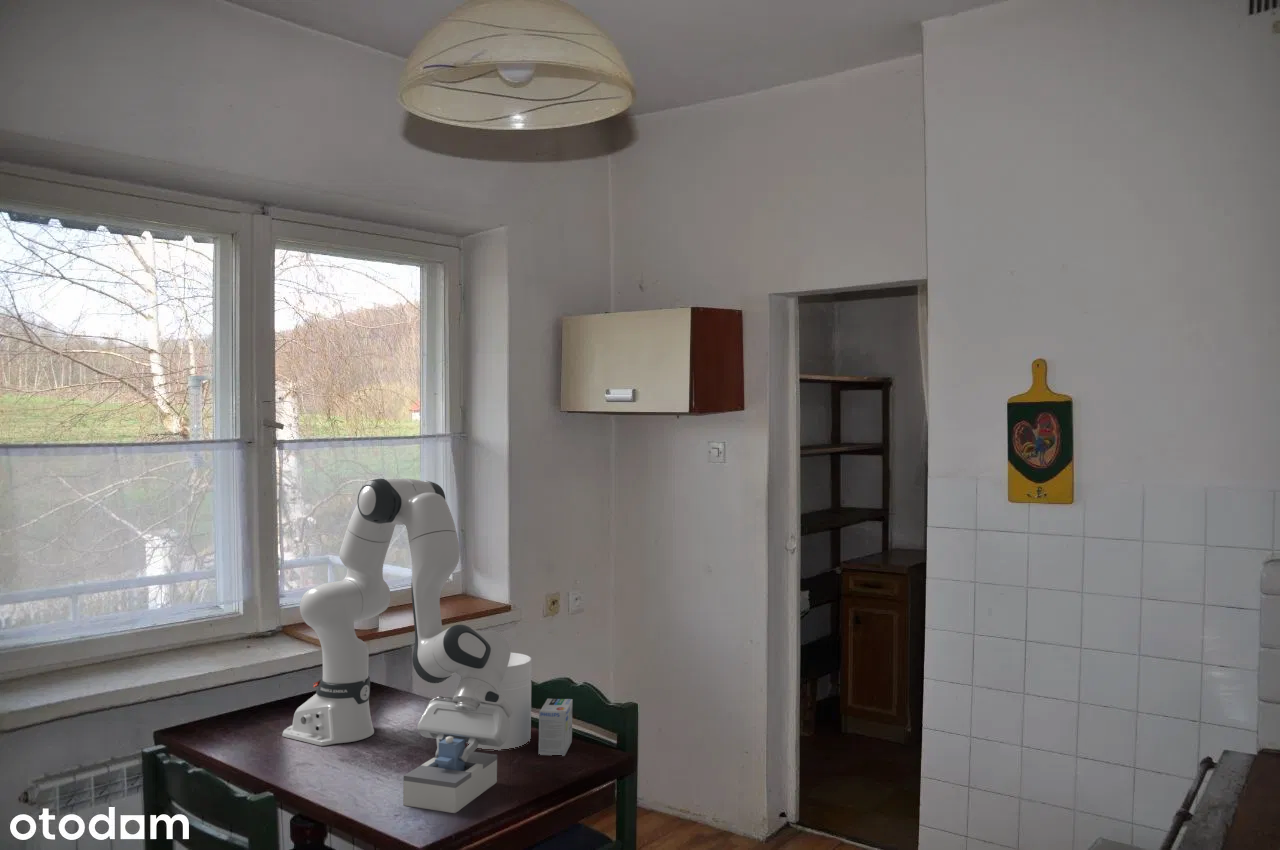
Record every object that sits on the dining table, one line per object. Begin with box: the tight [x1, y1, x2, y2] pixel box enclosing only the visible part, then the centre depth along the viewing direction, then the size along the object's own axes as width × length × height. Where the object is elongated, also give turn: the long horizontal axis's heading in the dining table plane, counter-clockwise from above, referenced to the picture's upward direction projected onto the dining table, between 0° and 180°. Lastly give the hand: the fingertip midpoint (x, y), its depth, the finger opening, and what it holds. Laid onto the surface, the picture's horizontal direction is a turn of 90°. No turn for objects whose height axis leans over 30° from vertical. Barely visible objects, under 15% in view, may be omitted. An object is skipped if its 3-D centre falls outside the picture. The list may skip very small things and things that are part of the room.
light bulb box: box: [538, 698, 573, 757], centre depth 227 cm, size 11×7×11 cm, turn 175°
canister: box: [467, 652, 533, 751], centre depth 233 cm, size 16×16×20 cm
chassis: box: [402, 751, 498, 814], centre depth 197 cm, size 12×18×6 cm, turn 161°
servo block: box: [435, 736, 466, 771], centre depth 197 cm, size 4×8×9 cm, turn 161°
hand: (450, 758), depth 197 cm, fingers closed on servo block, 4 cm apart
